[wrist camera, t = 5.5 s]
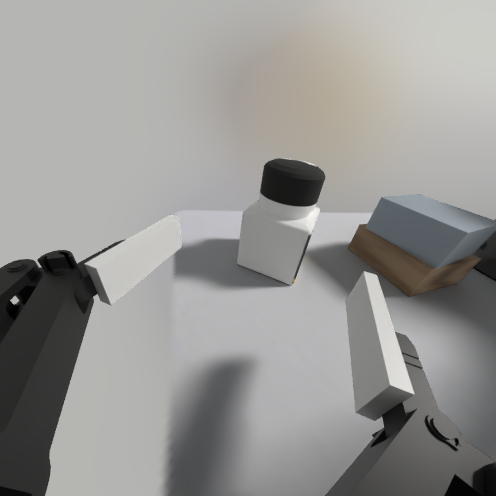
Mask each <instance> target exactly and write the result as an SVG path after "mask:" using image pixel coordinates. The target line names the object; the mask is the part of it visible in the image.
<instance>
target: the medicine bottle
mask: <svg viewBox="0 0 496 496" xmlns="http://www.w3.org/2000/svg"><path fill="white" fill-rule="evenodd" d="M324 180H325V174H324V172H323V171H322V170H321V169H320V168H319V167H317V166H316V165H313V164H311V163H307V162H303V161H298V160H293V159H274V160H271V161H269V162H267V163H266V164H265V165H264V171H263V177H262V184H261V189H260V195H259V200H258V201H257V202H255V203H254V204H253V205H251V206H250V207H249V208H248V209H246V210H245V211H244V212H243V216H242V224H241V233H240V241H239V249H238V258H237V264H238V265H241V266H243V267H246V268H248V269H251V270H253V271H256V272H258V273H261V274H264V275H266V276H269V277H271V278H274V279H276V280H279V281H281V282H284V283H287V284H289V285H292V284H293V283H294V281H295V279H296V276H297V273H298V270H299V268H300V265H301V262H302V259H303V257H304V254H305V251H306V248H307V246H308V243H309V240H310V237H311V234H312V232H313V229H314V226H315V223H316V220H317V218H318V215H319V212H320V209H319V208H317V207H315V206H316V203H317V200H318V198H319V195H320V192H321V189H322V185H323V183H324Z"/></svg>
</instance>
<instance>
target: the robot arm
mask: <svg viewBox="0 0 496 496" xmlns="http://www.w3.org/2000/svg"><path fill="white" fill-rule="evenodd" d="M494 221H496V219H495V220H494ZM181 247H182V242H181V229H180V217H178V216H175V215H169V216H167V217H165V218H164V219H162V220H160V221H158V222H157V223H155V224H153V225H151V226H150V227H148V228H146V229H144V230H143V231H141V232H139V233H137V234H136V235H134V236H132V237H130V238H129V239H127V240H122V241H119V242H116V243H114V244H112V245H110V246H108V248H105V249H103V250H102V251H100V252H98V253H96V254H94V255H92V256H90V257H88V258H87V259H85V260H83V261H81V262H79V263H78V264H77V263H76V261H75V259H74V256H73V255H72V253H71V252H70V251H66V250H58V251H53V252H50V253H47V254H45V255H43V256H41V257H40V258H39V259H38V262H39V263H40V265H41V267H42V268H39V267H38V265H37V264H36V262H35V261H34V260H30V259H24V260H18V261H13V262H11V263H8V264H7V265H5V266H3V267H1V268H0V496H45V493H46V490H47V486H48V482H49V477H50V468H51V466H50V459H49V452H50V448H51V444H52V441H53V437H54V434H55V431H56V427H57V424H58V421H59V417H60V414H61V410H62V407H63V404H64V400H65V397H66V393H67V390H68V386H69V384H70V380H71V377H72V373H73V370H74V367H75V363H76V360H77V357H78V353H79V349H80V346H81V343H82V340H83V336H84V333H85V330H86V326H87V323H88V320H89V316H90V313H91V309H92V306H93V303H94V299H93V296H95V295H96V294H98V296H99V298H100V300H101V301H102V302H105V303H107V304H109V305H113V304H114V303H115V302H116V301H117V300H119V298H121V297H122V296H123V295H125V294H126V293H127V292H128V291H129V290H131V289H132V288H133V287H134V286H135V285H137V284H138V283H139V282H140V281H142V280H143V279H144V278H145V277H146V276H148V275H149V274H150V273H151V272H152V271H154V270H155V269H156V268H157V267H158V266H160V265H161V264H162V263H163V262H164V261H166V260H167V259H168V258H169V257H170V256H172V255H173V254H174V253H175V252H176V251H178V250H179V249H180V248H181ZM473 255H475V256H477V257H479V258H481V260H480V261H479V262H478V263H477V264H476V265H475V266H474V267H475V268H477V269H478V270H480V271H482V272H483V273H485V274H487V275H488V276H490V277H492V278H494V279H496V231H495V232H494V233H493V234H492V235H491V236H490V237H489V238H488V239H487V240H486V241H485V242H484V243H483V244H482V245H481V246H480V247H479V248H478V249H477V250H476V251H475V252H474V253H473ZM14 296H16V297H17V298H18V299H19V302H18V303H17V304H15V305H14V304H12V302H11V301H10V300H11V299H12V298H13V297H14ZM346 311H347V322H348V333H349V344H350V355H351V366H352V377H353V388H354V399H355V410H356V413H358V414H360V415H362V416H365V417H367V418H369V419H372V420H374V421H376V420H377V419H379V418H380V417H383V422H384V428H383V429H381V430H379V431H378V432H376V433H374V434H373V435H372V436H373V437H374V438H373V440H372V441H371V442H370V443H369V444H368V446H367V447H366V448H365V449H364V450H363V451H362V453H361V454H360V455H359V456H358V457H357V459H356V460H355V461H354V462H353V463H352V465H351V466H350V467H349V468H348V469H347V470H346V472H345V473H344V474H343V475H342V476H341V478H340V479H339V480H338V481H337V482H336V483H335V485H334V486H333V487H332V488H331V489H330V491H329V492H328V493H327V494H326V495H325V496H496V462H495V461H494V460H492V459H491V458H489V457H488V456H487V455H485V454H484V453H482V452H481V451H479V450H478V449H477V448H475V447H474V446H472V445H471V444H469V443H468V442H467V441H465V440H464V439H463V438H462V436H461V434H460V433H459V431H458V429H457V428H456V426H455V425H454V424H453V423H452V422H451V421H450V420H449V418H448V417H447V416H445V415H444V414H443V413H442V412H440V411H439V409H438V407H437V404H436V402H435V399H434V396H433V394H432V391H431V388H430V386H429V383H428V381H427V378H426V375H425V373H424V370H422V365H421V362H420V361H419V357H418V354H417V352H416V349H415V347H414V345H413V344H412V343H411V341H410V340H409V339H408V337H407V336H406V335H403V334H400V333H397V332H395V331H394V327H393V324H392V321H391V318H390V315H389V312H388V308H387V305H386V302H385V299H384V296H383V293H382V289H381V286H380V283H379V280H378V277H377V275H375V274H372V273H368V272H365V271H363V273H362V275H361V276H360V278H359V280H358V281H357V283H356V285H355V286H354V288H353V290H352V291H351V293H350V294H349V296H348V298H347V299H346Z"/></svg>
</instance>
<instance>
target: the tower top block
mask: <svg viewBox="0 0 496 496" xmlns="http://www.w3.org/2000/svg"><path fill="white" fill-rule="evenodd" d="M366 229H368V230H369V231H371V232H373V233H375V234H376V235H378V236H380V237H382V238H383V239H385V240H387V241H389V242H390V243H392V244H394V245H396V246H397V247H399V248H401V249H403V250H404V251H406V252H408V253H410V254H411V255H413V256H415V257H417V258H418V259H420V260H422V261H424V262H425V263H427V264H429V265H431V266H432V267H434V268H436V269H438V268H440V267H443V266H445V265H448V264H450V263H453V262H455V261H458V260H460V259H463V258H465V257H468V256H470V255H472V254H473V253H474V252H475V251H476V250H477V249H478V248H479V247H480V246H481V245H482V244H483V243H484V242H485V241H486V240H487V239H488V238H489V237H490V236H491V235H492V234H493V233H494V232H495V231H496V221H494V220H492V219H488V218H486V217H483V216H480V215H477V214H474V213H472V212H469V211H466V210H462V209H460V208H457V207H454V206H451V205H448V204H446V203H442V202H440V201H437V200H434V199H431V198H428V197H426V196H423V195H420V194H419V195H406V196H405V195H404V196H391V197H381V199H380V201H379V203H378V205H377V207H376V209H375V211H374V213H373V214H372V216H371V218H370V220H369V222H368V224H367V226H366Z"/></svg>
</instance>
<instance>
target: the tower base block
mask: <svg viewBox="0 0 496 496" xmlns="http://www.w3.org/2000/svg"><path fill="white" fill-rule="evenodd" d="M366 226H367V224H361V225H359V227H358V229H357V231H356V233H355V235H354V237H353V239H352V241H351V243H350V245H349V247H348V249H349V250H351V251H352V252H353V253H354V254H356V255H357V256H358V257H359V258H361V259H362V260H363V261H365V262H366V263H367V264H368V265H370V266H371V267H372V268H373V269H375V270H376V271H377V272H378V273H380V274H381V275H382V276H383V277H385V278H386V279H387V280H388V281H390V282H391V283H392V284H393V285H395V286H396V287H397V288H398V289H400V290H401V291H402V292H403V293H405V294H406V295H407V296H408V297H409V296H413V295H417V294H420V293H424V292H427V291H431V290H435V289H438V288H442V287H445V286H449V285H452V284H456V283H458V282H459V281H460V280H461V279H462V278H463V277H464V276H465V275H466V274H467V273H468V272H469V271H470V270H471V269H472V268H473V267H474V266H475V265H476V264H477V263H478V262H479V261H480V260H481V258H479V257H477V256H475V255H473V254H472V255H470V256H468V257H465V258H463V259H460V260H458V261H455V262H453V263H450V264H448V265H445V266H443V267H440V268H438V269H436V268H434V267H432V266H431V265H429V264H427V263H425V262H424V261H422V260H420V259H418V258H417V257H415V256H413V255H411V254H410V253H408V252H406V251H404V250H403V249H401V248H399V247H397V246H396V245H394V244H392V243H390V242H389V241H387V240H385V239H383V238H382V237H380V236H378V235H376V234H375V233H373V232H371V231H369V230H368V229H366Z"/></svg>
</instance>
